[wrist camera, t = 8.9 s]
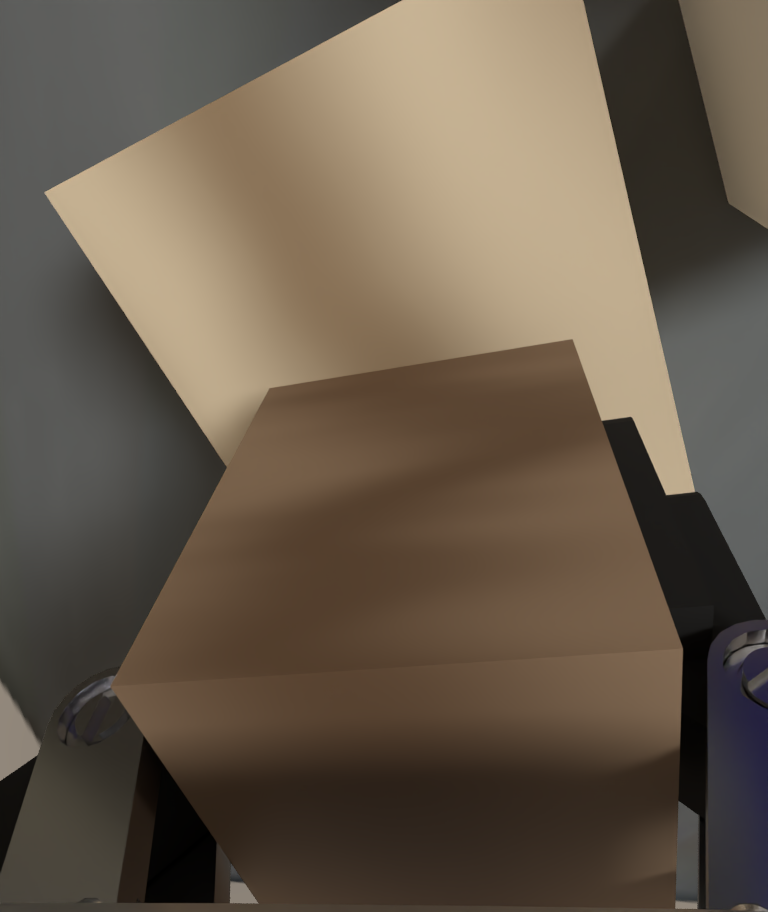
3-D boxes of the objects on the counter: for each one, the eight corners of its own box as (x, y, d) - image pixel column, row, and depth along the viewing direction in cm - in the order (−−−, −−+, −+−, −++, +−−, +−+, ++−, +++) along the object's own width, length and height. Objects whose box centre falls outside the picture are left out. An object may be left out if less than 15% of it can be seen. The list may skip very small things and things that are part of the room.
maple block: (523, -45, 14) (563, -86, 9) (657, 473, 20) (724, 620, 15) (171, 141, 16) (43, 192, 11) (392, 545, 23) (374, 690, 18)
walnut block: (572, 338, 10) (682, 648, 5) (590, 575, 13) (674, 934, 8) (269, 388, 11) (110, 686, 6) (343, 598, 14) (275, 927, 9)
